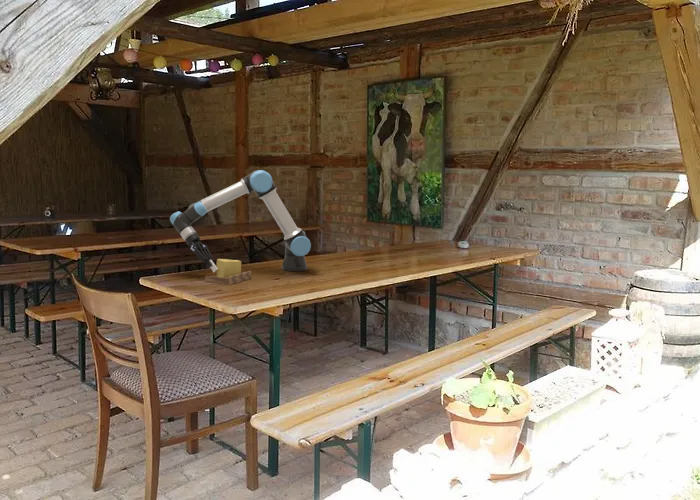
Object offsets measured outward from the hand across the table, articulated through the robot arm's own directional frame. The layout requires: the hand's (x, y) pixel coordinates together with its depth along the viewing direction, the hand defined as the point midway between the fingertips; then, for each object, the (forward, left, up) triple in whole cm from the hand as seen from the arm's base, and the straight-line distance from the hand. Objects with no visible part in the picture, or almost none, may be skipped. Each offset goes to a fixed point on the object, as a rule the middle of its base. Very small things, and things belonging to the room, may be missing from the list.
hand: (215, 270), depth 325 cm
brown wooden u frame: (-1, +6, -5) cm, 8 cm away
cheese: (-3, +6, -4) cm, 8 cm away
